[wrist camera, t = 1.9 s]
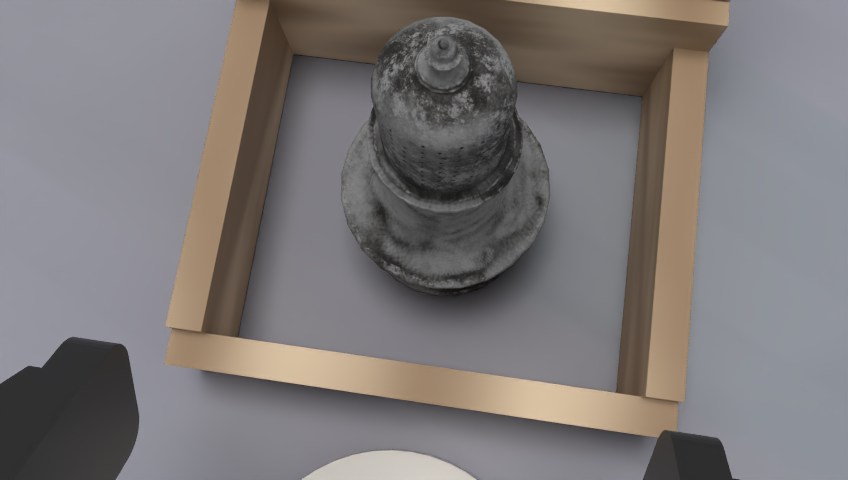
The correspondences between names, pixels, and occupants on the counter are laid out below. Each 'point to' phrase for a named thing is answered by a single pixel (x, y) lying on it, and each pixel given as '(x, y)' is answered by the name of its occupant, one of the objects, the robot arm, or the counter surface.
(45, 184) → the counter surface
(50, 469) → the robot arm
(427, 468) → the saucer
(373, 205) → the grey tall domed piece
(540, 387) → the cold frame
